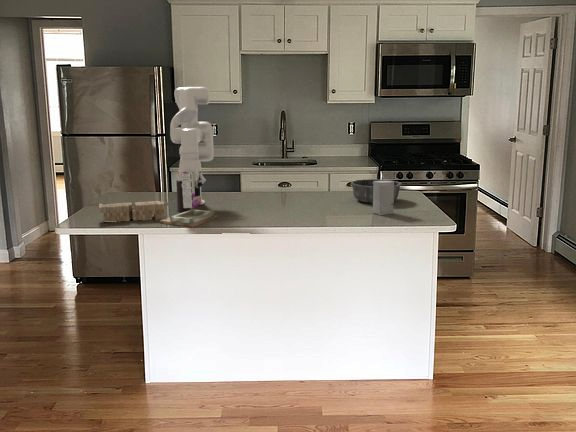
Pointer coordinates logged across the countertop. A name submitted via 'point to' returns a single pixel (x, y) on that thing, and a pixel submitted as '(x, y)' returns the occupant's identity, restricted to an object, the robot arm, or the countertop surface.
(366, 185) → the bundt pan
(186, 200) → the candy bar box
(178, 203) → the bottle
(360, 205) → the countertop surface
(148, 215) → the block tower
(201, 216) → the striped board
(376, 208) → the skincare box
